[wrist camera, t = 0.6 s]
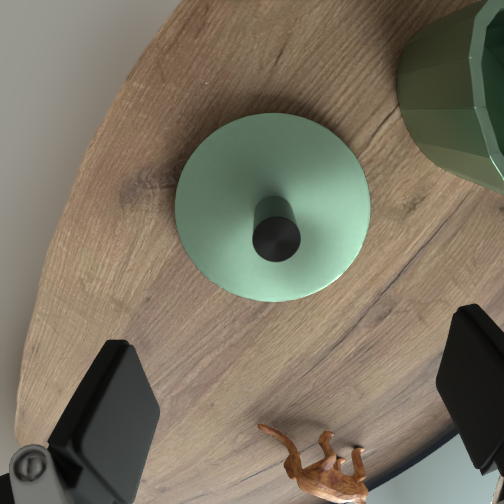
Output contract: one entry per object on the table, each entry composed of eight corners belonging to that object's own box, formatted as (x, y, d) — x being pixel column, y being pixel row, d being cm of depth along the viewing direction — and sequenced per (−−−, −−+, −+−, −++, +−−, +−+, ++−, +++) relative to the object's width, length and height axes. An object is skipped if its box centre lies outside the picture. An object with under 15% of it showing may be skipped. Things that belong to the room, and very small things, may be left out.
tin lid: (164, 128, 21) (131, 131, 15) (360, 108, 20) (394, 104, 14) (196, 300, 26) (180, 348, 20) (364, 285, 25) (389, 329, 19)
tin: (384, 13, 17) (447, -34, 8) (507, 39, 16) (582, 29, 7) (401, 177, 22) (473, 213, 13) (517, 176, 21) (592, 207, 12)
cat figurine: (239, 428, 32) (230, 537, 20) (278, 400, 30) (282, 523, 18) (343, 469, 36) (356, 552, 24) (381, 447, 34) (402, 534, 21)
